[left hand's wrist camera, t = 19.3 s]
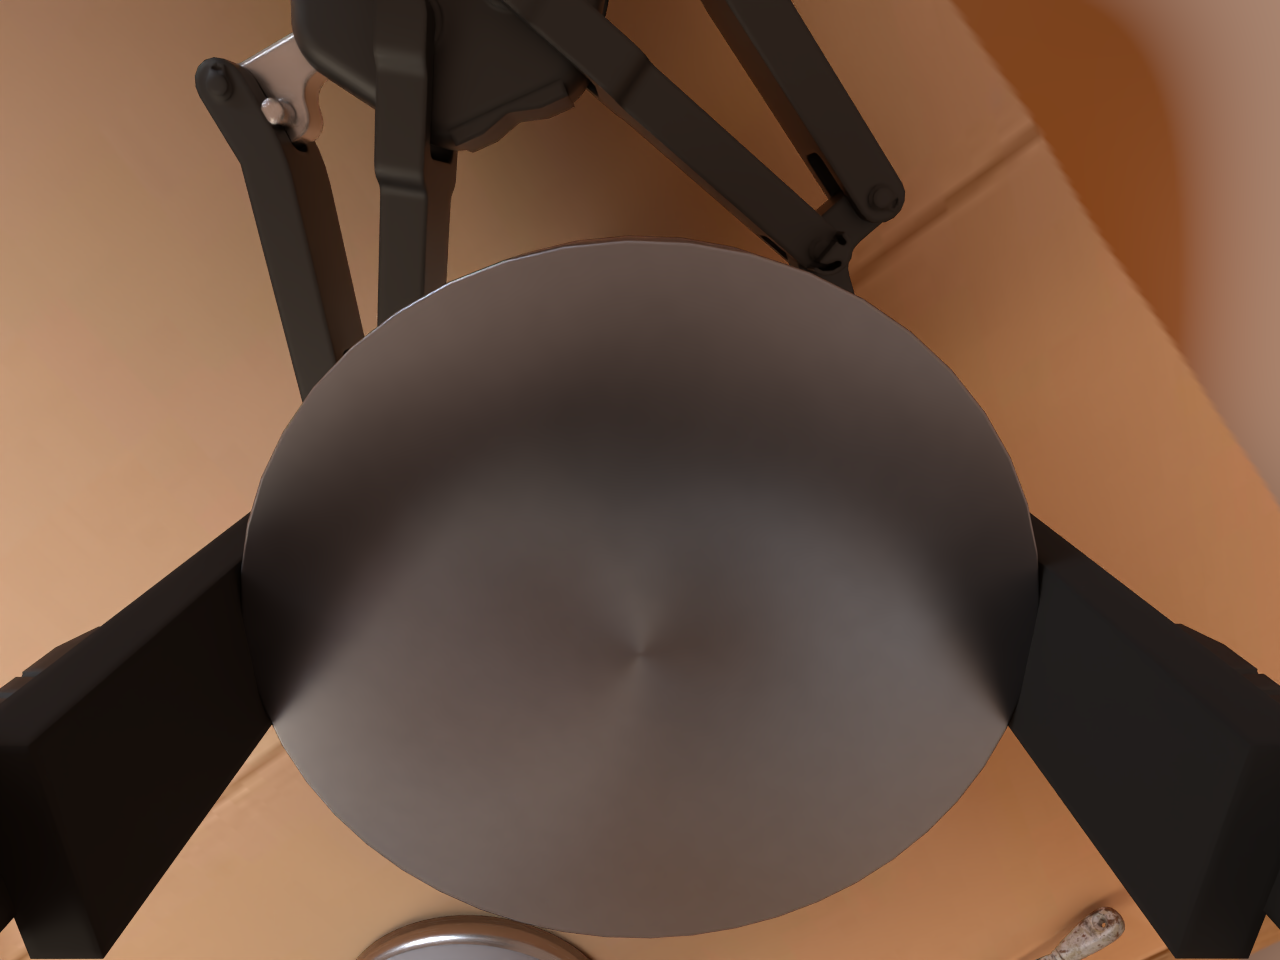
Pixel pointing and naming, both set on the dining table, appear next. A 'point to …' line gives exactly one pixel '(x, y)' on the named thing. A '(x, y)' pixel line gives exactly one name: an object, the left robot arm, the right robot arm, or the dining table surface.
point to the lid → (639, 588)
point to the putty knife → (1089, 935)
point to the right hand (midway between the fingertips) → (689, 543)
